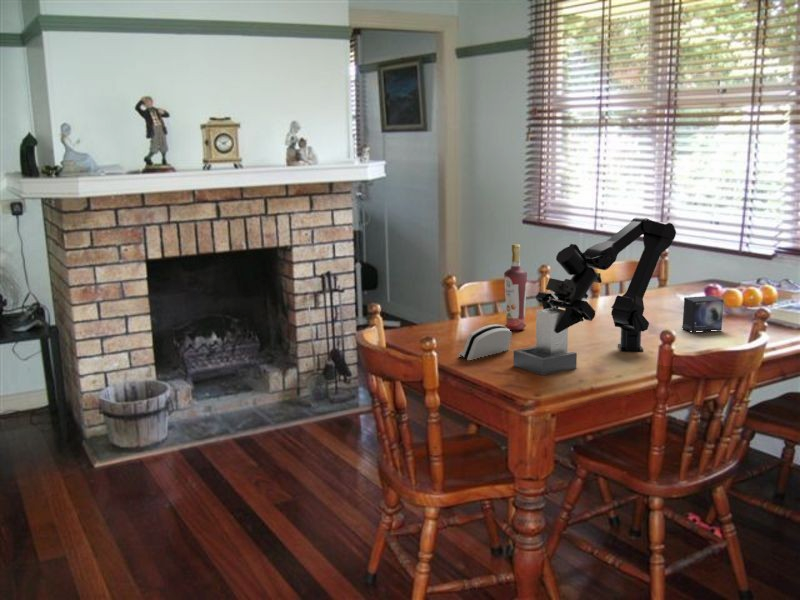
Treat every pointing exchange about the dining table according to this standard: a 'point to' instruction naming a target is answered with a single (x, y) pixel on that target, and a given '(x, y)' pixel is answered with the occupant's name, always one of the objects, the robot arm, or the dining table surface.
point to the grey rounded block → (486, 342)
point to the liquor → (515, 292)
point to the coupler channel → (544, 361)
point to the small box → (702, 313)
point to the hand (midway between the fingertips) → (548, 330)
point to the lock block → (550, 332)
